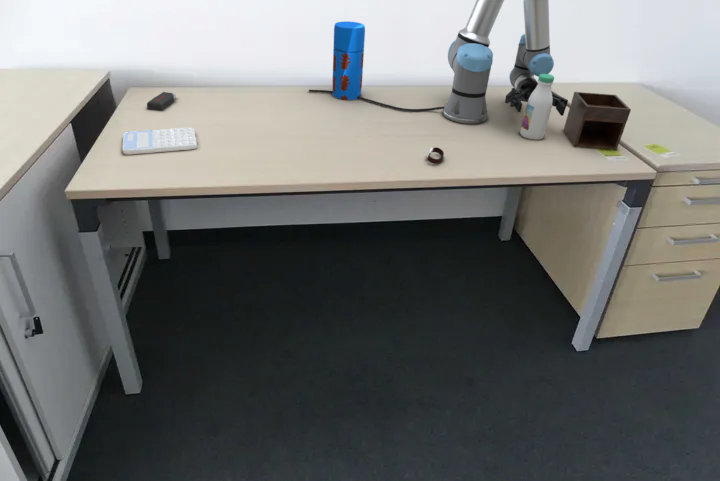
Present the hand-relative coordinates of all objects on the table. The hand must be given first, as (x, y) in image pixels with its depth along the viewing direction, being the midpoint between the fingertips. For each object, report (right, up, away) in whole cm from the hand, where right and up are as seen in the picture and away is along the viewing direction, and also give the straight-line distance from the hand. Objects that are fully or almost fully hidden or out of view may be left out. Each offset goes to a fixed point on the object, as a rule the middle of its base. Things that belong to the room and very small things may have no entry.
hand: (541, 109), depth 168 cm
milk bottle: (-1, -7, +8) cm, 11 cm away
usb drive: (-125, +5, +13) cm, 126 cm away
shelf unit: (+18, -8, +8) cm, 21 cm away
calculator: (-116, -13, -12) cm, 118 cm away
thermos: (-63, +13, +31) cm, 71 cm away
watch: (-36, -18, -11) cm, 41 cm away
